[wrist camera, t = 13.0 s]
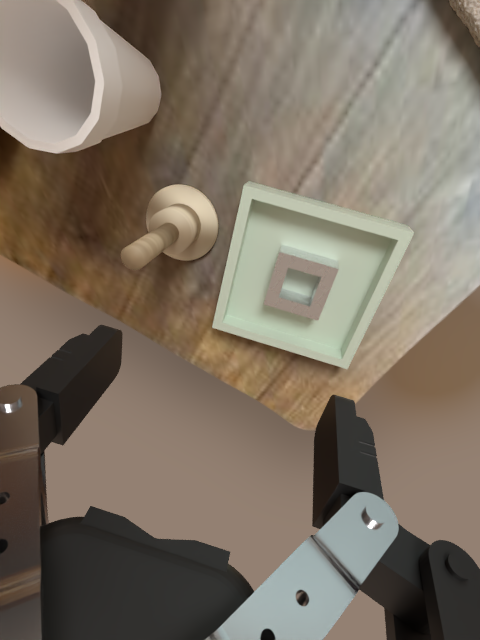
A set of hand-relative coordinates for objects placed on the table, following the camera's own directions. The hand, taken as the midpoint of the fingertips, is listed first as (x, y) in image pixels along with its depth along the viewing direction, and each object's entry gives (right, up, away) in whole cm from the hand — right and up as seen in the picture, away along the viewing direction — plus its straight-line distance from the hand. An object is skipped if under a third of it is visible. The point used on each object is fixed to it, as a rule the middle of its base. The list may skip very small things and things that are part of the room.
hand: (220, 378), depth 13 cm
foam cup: (-10, +24, +20) cm, 33 cm away
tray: (+7, +7, +26) cm, 28 cm away
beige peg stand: (-5, +13, +25) cm, 29 cm away
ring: (+7, +7, +25) cm, 27 cm away
